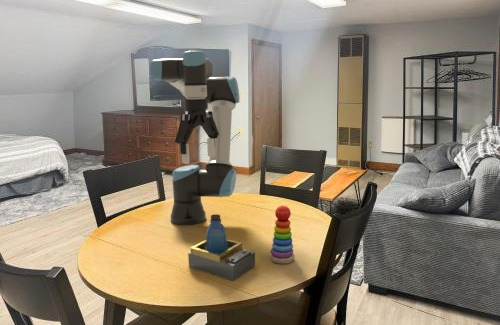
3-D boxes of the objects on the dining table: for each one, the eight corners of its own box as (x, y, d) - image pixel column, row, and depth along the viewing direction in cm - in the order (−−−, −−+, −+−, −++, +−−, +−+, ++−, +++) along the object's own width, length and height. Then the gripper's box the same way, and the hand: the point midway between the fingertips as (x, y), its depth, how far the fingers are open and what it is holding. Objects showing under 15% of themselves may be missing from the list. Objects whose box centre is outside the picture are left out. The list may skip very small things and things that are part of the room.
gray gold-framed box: (188, 267, 137) (187, 247, 136) (212, 254, 147) (211, 235, 145) (233, 281, 127) (232, 259, 126) (255, 266, 137) (254, 246, 136)
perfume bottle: (207, 247, 140) (205, 213, 138) (226, 246, 140) (224, 212, 138) (207, 255, 134) (205, 219, 131) (226, 254, 134) (225, 218, 132)
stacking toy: (293, 265, 137) (293, 210, 133) (269, 264, 138) (268, 209, 135) (295, 255, 145) (295, 203, 141) (271, 254, 146) (271, 202, 142)
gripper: (178, 101, 130) (182, 168, 134) (227, 96, 150) (229, 154, 154) (161, 100, 134) (165, 165, 138) (210, 95, 154) (213, 152, 159)
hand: (199, 159), depth 146 cm, fingers open, 13 cm apart
